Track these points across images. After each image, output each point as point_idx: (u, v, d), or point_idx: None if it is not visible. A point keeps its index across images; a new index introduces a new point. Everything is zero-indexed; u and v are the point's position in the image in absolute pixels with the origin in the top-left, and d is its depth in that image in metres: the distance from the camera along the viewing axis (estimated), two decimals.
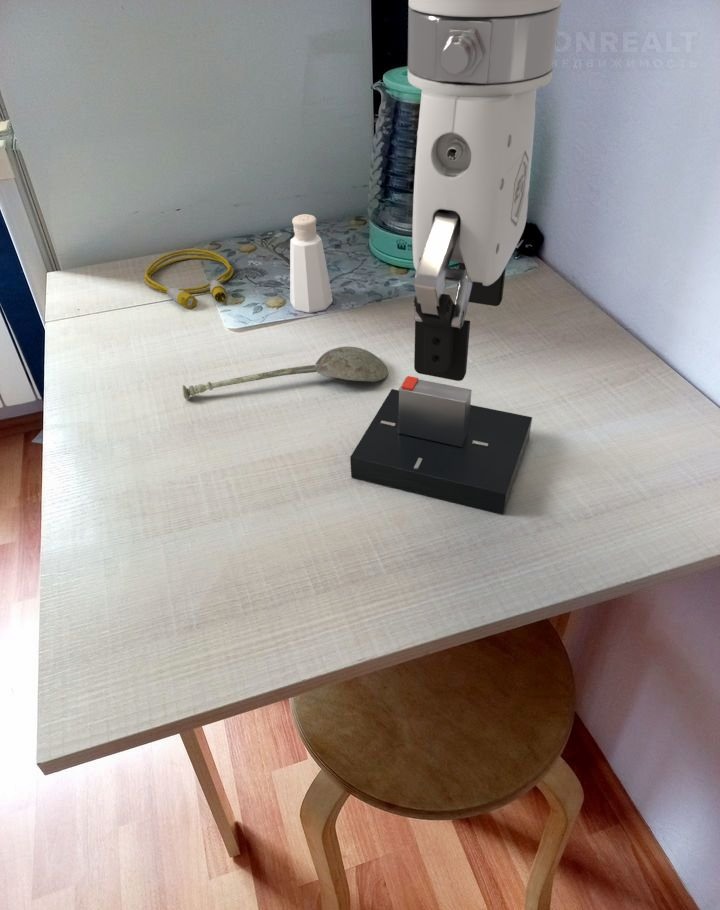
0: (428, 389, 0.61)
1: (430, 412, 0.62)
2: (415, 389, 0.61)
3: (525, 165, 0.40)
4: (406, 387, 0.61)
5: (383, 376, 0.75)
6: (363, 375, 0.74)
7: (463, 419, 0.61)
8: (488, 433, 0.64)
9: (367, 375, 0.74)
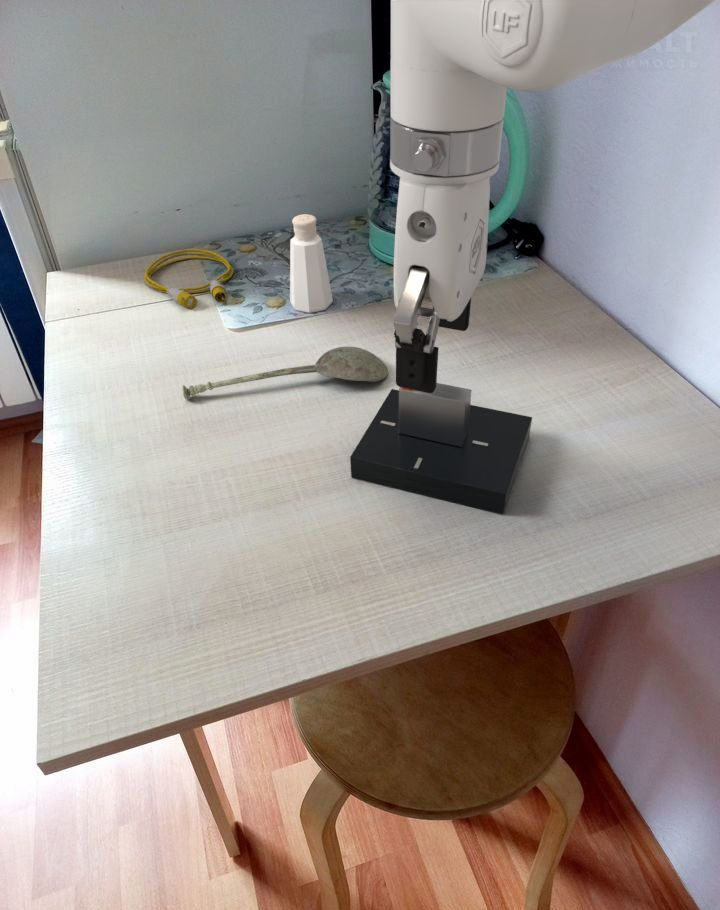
0: None
1: (430, 412, 0.62)
2: None
3: (481, 228, 0.52)
4: None
5: (383, 376, 0.75)
6: (363, 375, 0.74)
7: (463, 419, 0.61)
8: (488, 433, 0.64)
9: (367, 375, 0.74)
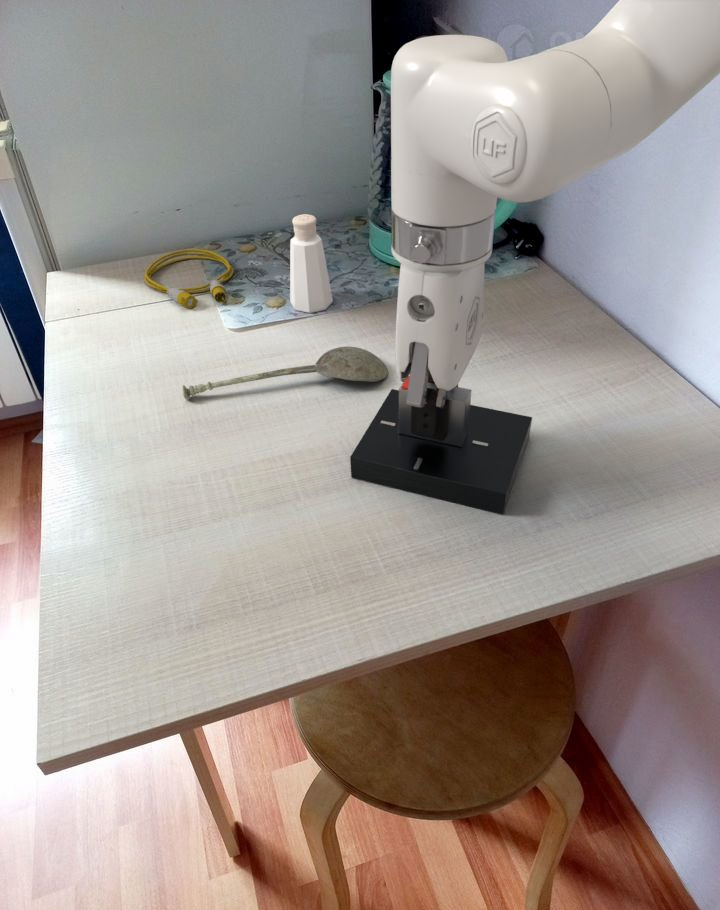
0: None
1: None
2: None
3: (476, 303, 0.56)
4: (406, 387, 0.61)
5: (383, 376, 0.75)
6: (363, 375, 0.74)
7: (463, 419, 0.61)
8: (488, 433, 0.64)
9: (367, 375, 0.74)
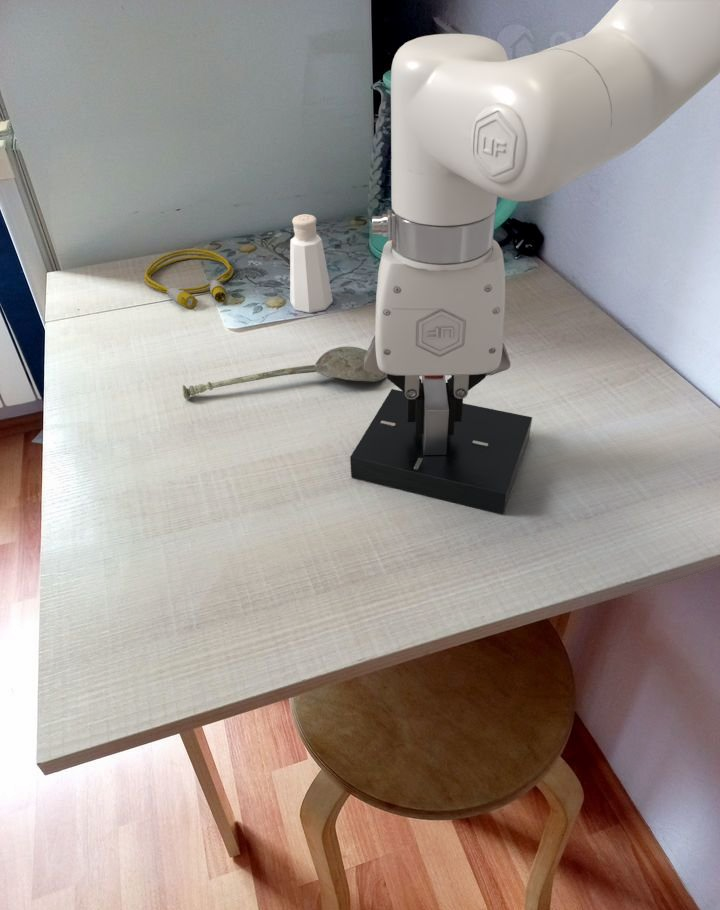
0: (431, 385, 0.62)
1: None
2: (427, 379, 0.63)
3: (456, 321, 0.54)
4: None
5: (383, 376, 0.75)
6: (363, 375, 0.74)
7: (424, 427, 0.60)
8: (488, 433, 0.64)
9: (367, 375, 0.74)
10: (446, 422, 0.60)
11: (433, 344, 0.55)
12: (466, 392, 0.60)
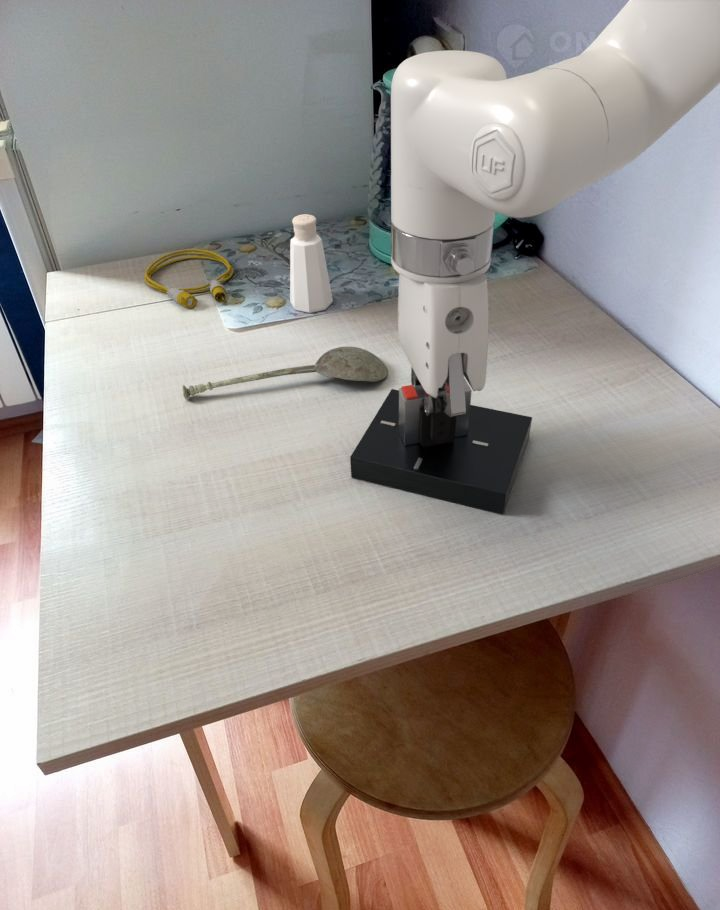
0: None
1: None
2: (419, 395, 0.61)
3: None
4: (411, 397, 0.60)
5: (383, 376, 0.75)
6: (363, 375, 0.74)
7: (469, 407, 0.62)
8: (488, 433, 0.64)
9: (367, 375, 0.74)
10: None
11: None
12: None
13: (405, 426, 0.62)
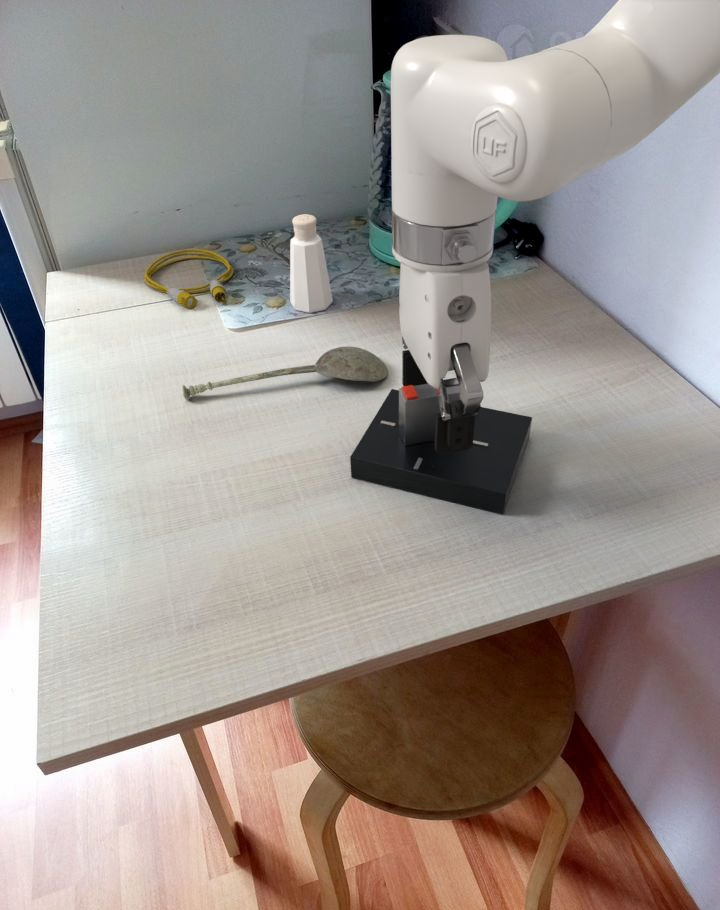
0: (430, 391, 0.61)
1: None
2: (419, 395, 0.61)
3: None
4: (411, 397, 0.60)
5: (383, 376, 0.75)
6: (363, 375, 0.74)
7: None
8: (488, 433, 0.64)
9: (367, 375, 0.74)
10: None
11: None
12: None
13: (405, 426, 0.62)
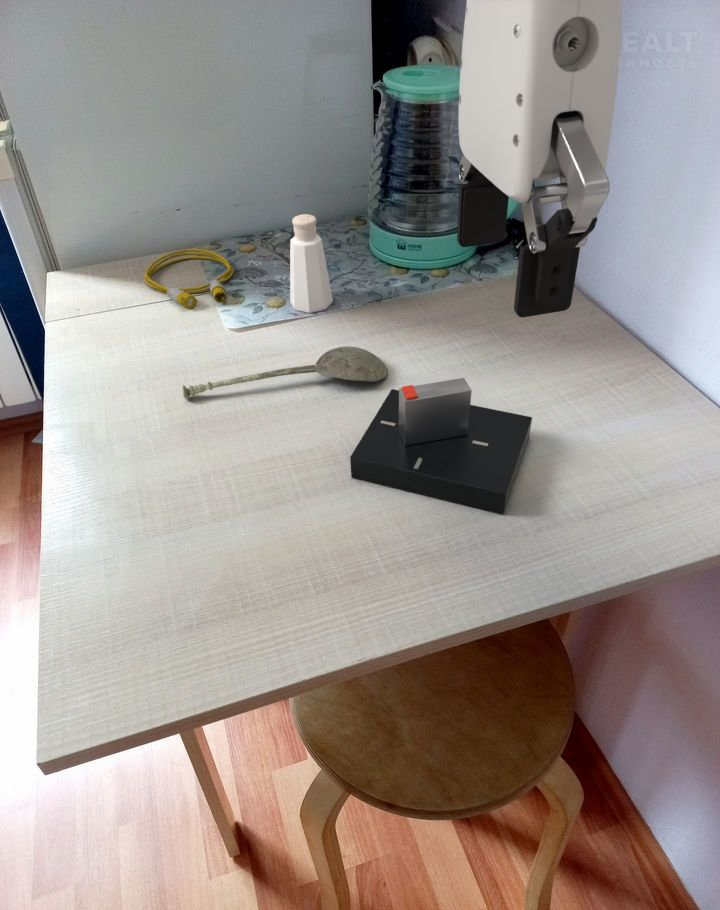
0: (430, 391, 0.61)
1: (437, 413, 0.62)
2: (419, 395, 0.61)
3: None
4: (411, 397, 0.60)
5: (383, 376, 0.75)
6: (363, 375, 0.74)
7: (469, 407, 0.62)
8: (488, 433, 0.64)
9: (367, 375, 0.74)
10: None
11: None
12: None
13: (405, 426, 0.62)
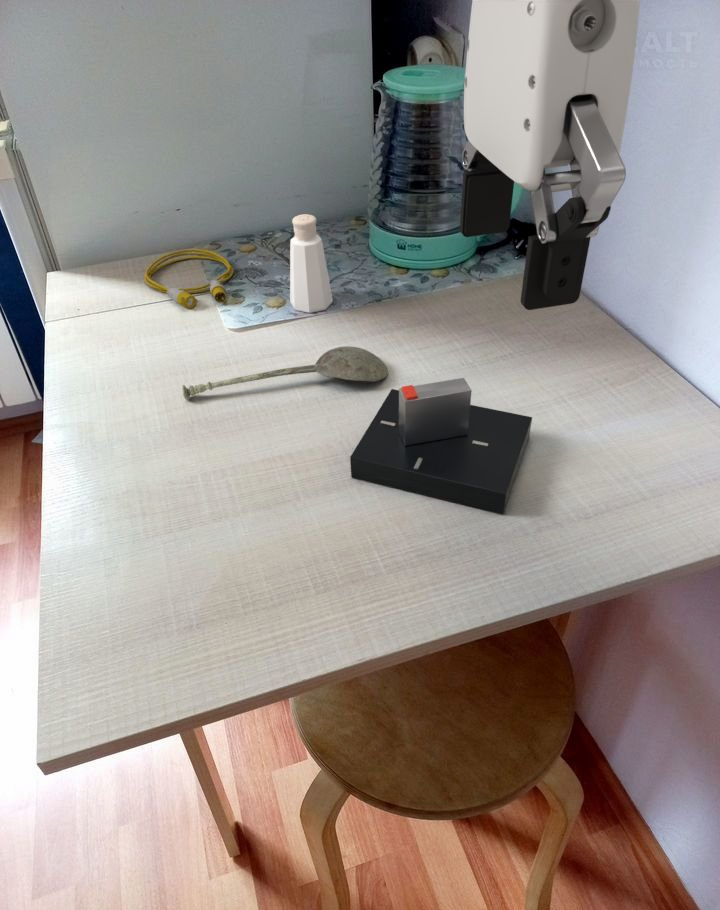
0: (430, 391, 0.61)
1: (437, 413, 0.62)
2: (419, 395, 0.61)
3: None
4: (411, 397, 0.60)
5: (383, 376, 0.75)
6: (363, 375, 0.74)
7: (469, 407, 0.62)
8: (488, 433, 0.64)
9: (367, 375, 0.74)
10: None
11: None
12: None
13: (405, 426, 0.62)
